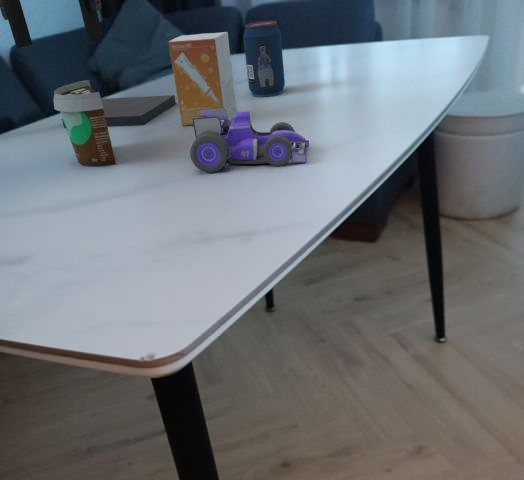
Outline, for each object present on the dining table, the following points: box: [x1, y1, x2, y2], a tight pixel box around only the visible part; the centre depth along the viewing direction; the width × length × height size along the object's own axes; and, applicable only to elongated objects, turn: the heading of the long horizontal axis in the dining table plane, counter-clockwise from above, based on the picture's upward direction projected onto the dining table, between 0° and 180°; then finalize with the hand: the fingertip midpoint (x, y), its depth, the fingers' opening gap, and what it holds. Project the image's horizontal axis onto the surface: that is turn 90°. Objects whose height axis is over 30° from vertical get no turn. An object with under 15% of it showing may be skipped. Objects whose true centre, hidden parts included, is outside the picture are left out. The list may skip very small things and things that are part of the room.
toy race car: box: [189, 108, 310, 174], centre depth 80 cm, size 10×15×6 cm, turn 83°
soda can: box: [243, 20, 286, 98], centre depth 112 cm, size 7×7×12 cm
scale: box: [61, 94, 177, 129], centre depth 111 cm, size 17×15×4 cm
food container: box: [53, 79, 117, 167], centre depth 87 cm, size 12×6×10 cm, turn 21°
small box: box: [168, 31, 238, 126], centre depth 98 cm, size 8×6×13 cm
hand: (59, 43), depth 81 cm, fingers open, 10 cm apart
